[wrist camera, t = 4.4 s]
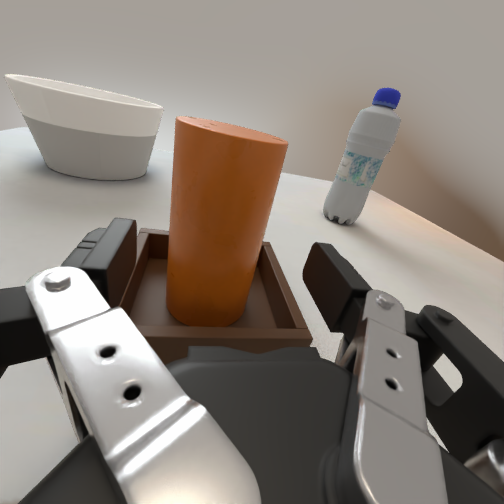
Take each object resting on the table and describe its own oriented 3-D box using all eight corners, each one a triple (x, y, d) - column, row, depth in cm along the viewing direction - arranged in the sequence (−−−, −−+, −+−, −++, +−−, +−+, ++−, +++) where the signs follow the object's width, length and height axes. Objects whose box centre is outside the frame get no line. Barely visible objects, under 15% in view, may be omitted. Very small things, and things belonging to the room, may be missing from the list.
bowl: (176, 169, 51) (180, 108, 45) (127, 196, 34) (124, 106, 29) (81, 146, 50) (74, 82, 45) (-17, 162, 33) (-46, 64, 28)
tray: (298, 371, 16) (313, 339, 15) (95, 375, 13) (90, 336, 12) (262, 267, 26) (269, 242, 24) (141, 257, 23) (141, 227, 22)
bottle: (317, 208, 48) (361, 85, 38) (352, 217, 48) (405, 95, 38) (321, 221, 42) (374, 79, 32) (360, 231, 42) (426, 91, 32)
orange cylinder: (234, 340, 17) (284, 148, 11) (149, 314, 17) (152, 114, 11) (251, 287, 22) (291, 139, 16) (185, 268, 22) (200, 116, 16)
